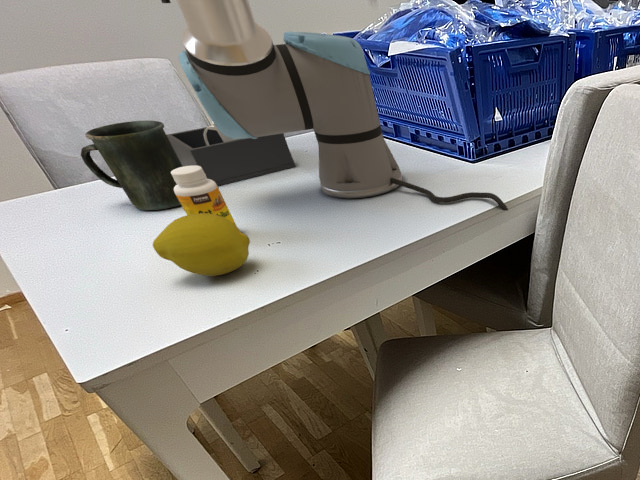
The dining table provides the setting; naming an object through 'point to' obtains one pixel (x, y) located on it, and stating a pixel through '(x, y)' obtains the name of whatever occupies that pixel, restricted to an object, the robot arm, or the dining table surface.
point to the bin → (231, 155)
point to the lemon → (203, 244)
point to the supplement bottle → (199, 192)
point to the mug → (136, 162)
